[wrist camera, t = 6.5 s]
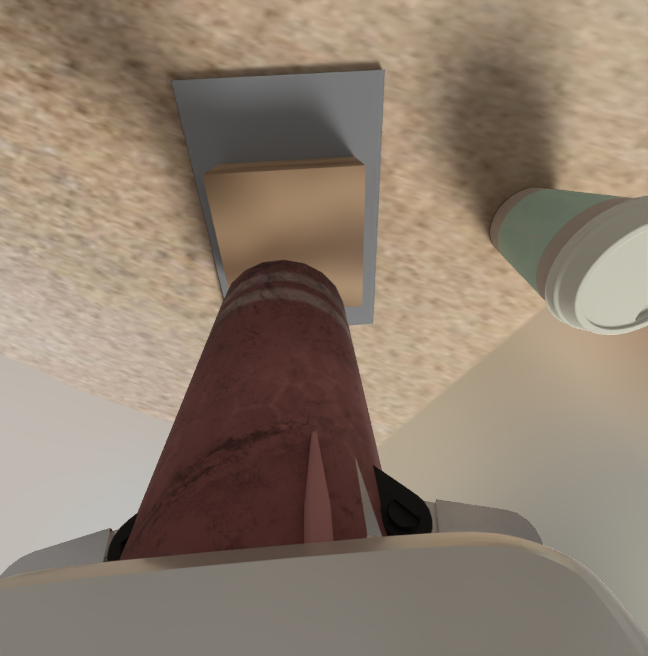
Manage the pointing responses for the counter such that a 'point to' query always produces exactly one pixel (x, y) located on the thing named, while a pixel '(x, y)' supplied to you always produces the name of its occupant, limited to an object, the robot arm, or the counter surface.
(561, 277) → the coffee cup
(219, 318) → the can
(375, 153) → the mat
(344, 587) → the robot arm
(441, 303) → the counter surface
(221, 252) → the block
